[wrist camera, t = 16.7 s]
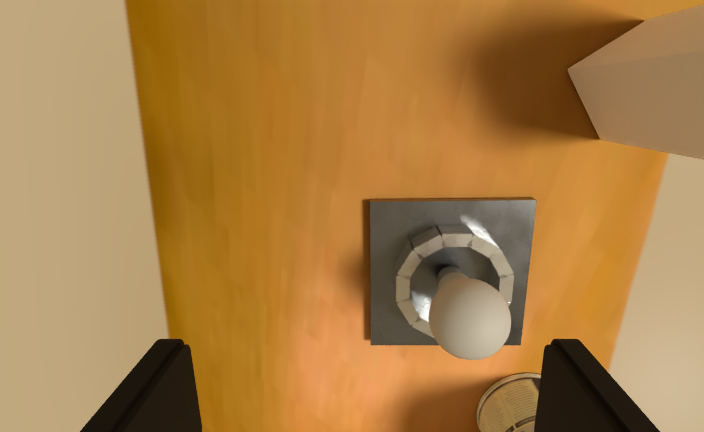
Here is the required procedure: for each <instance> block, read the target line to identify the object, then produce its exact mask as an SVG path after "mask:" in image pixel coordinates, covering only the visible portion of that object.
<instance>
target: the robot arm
mask: <svg viewBox="0 0 704 432" xmlns="http://www.w3.org/2000/svg"><path fill="white" fill-rule="evenodd" d="M80 432H202V424H201V417H200V410H199V404H198V397H197V390H196V383H195V377H194V370H193V363H192V356H191V350H190V347H189V345H184V342H183V340H181V339H159V340H157V341H156V342H155V343H154V345H153V346H152V347H151V348H150V349H149V350H148V352H147V353H146V354H145V355H144V356H143V358H142V359H141V360H140V361H139V362H138V363H137V365H136V366H135V367H134V368H133V369H132V371H131V372H130V373H129V374H128V375H127V377H126V378H125V379H124V380H123V381H122V383H121V384H120V385H119V386H118V388H116V390H115V391H114V392H113V393H112V394H111V396H110V397H109V398H108V399H107V400H106V401H105V403H104V404H103V405H102V406H101V407H100V409H99V410H98V411H97V412H96V413H95V414H94V416H93V417H92V418H91V419H90V420H89V421H88V423H87V424H86V425H85V426H84V427H83V429H82V430H81V431H80ZM534 432H660V431H659V430H658V429H657V428H656V427H655V425H654V424H653V423H652V422H651V421H650V420H649V419H648V418H647V416H646V415H645V414H644V413H643V412H642V411H641V410H640V408H639V407H638V406H637V405H636V404H635V403H634V402H633V400H632V399H631V398H630V397H629V396H628V395H627V394H626V392H625V391H624V390H623V389H622V388H621V387H620V386H619V385H618V384H617V382H616V381H615V380H614V379H613V378H612V377H611V375H610V374H609V373H608V372H607V371H606V370H605V369H604V367H603V366H602V365H601V364H600V363H599V362H598V361H597V360H596V358H595V357H594V356H593V355H592V354H591V353H590V352H589V350H588V349H587V348H586V347H585V346H584V345H583V344H582V343H581V341H579V340H578V339H554V340H553V341H552V342H551V345H546V346H545V349H544V356H543V363H542V371H541V379H540V386H539V394H538V402H537V409H536V417H535V425H534Z"/></svg>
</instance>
